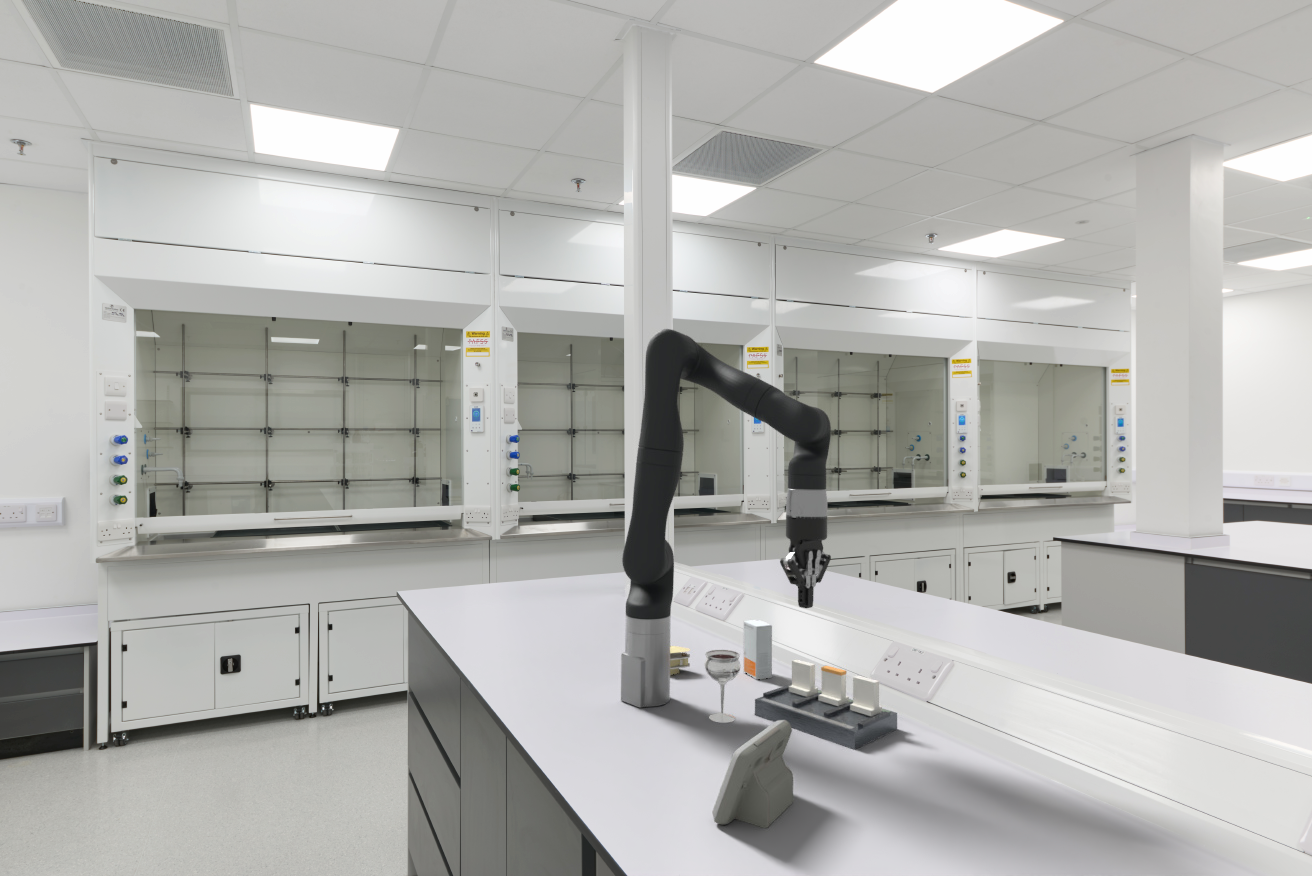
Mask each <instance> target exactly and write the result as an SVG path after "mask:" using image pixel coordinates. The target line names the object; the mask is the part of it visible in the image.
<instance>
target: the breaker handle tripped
mask: <svg viewBox="0 0 1312 876" xmlns="http://www.w3.org/2000/svg"><path fill="white" fill-rule="evenodd" d="M820 668H821V669H820V670H821V691H822V694H820V695H818V700H819V701H823V702H826V703H829V704H832V705H836V706H840V705H843V704H845V703H848V702H849V699H850V696H847V670H845V669H841V668H837V667H834V666H829V665H825V666H821V667H820Z"/></svg>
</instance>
